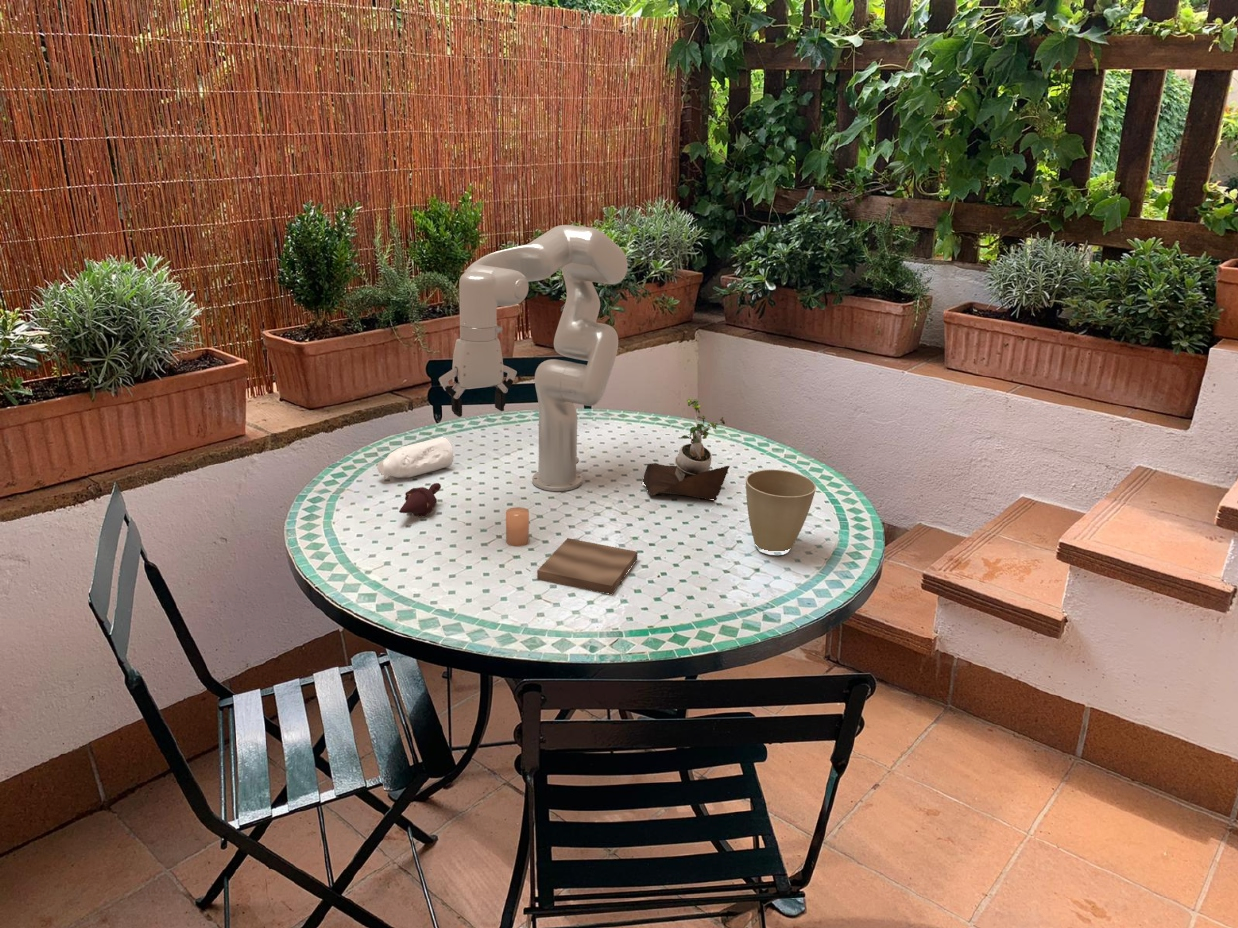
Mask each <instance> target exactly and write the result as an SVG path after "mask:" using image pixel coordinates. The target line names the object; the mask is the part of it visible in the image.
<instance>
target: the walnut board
mask: <svg viewBox="0 0 1238 928" xmlns="http://www.w3.org/2000/svg"><path fill="white" fill-rule="evenodd" d="M636 560H637V561H638V551H637V550H632V549H631V550H630V549H626V548H621V547H617V546H611V545H605V544H601V543H595V542H590V541H584V540H580V539H575V538H570V537H569V538H568V537H566V539H565V540H564V541H563V542H562V543H561V544H560V545H559V546H558V547H557V549H555V551H554V552H553V553H552V554H551V555H550V556H549V557H548V558H547V559H546V561H544V563H542V565H541V566H540V567H539V568H538V569H537V572H536V577H537V578H536V579H537V580H539V581H545V582H550V583H554V584H557V585H563V586H567V587H573V588H578V589H581V590H586V591H591V590H592V592H596V591H598V592H597V593H600V592H604V593H603V594H605V593H609V594H608V595H610V594H612V593H613V594H614V592H615V591H616V590H617V588H618V587H619V586H620V584H621V583H622V581H623V580H624V579H625V577H626V576H627V575H626V573H627V572H628V570H629V569H630V568H631V566H632V565H633V563H634V562H635V561H636ZM637 561H636V562H637ZM636 562H635V563H636ZM633 566H634V565H633ZM633 566H632V567H633ZM631 569H632V568H631ZM631 569H630V570H631ZM630 570H629V571H630ZM628 573H629V572H628ZM628 573H627V574H628ZM625 575H626V576H625ZM624 576H625V577H624ZM623 578H624V579H623ZM622 579H623V580H622ZM621 580H622V581H621ZM620 582H621V583H620ZM619 583H620V584H619ZM617 586H618V587H617ZM615 589H616V590H615ZM614 590H615V591H614ZM613 591H614V592H613ZM613 594H612V595H613Z"/></svg>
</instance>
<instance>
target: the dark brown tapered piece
mask: <svg viewBox="0 0 1238 928" xmlns="http://www.w3.org/2000/svg"><path fill="white" fill-rule="evenodd" d="M441 488H442V485H441V484H440V483H439V482H436V483H433V484H431V485H430V486H429V488H427V487H424V486H421V487H413V488H411V489H409V490H407V491H406V492H405V493H404V495H405V497H404V500H405V502H404V504H403V505H402V506H401V508H400V509H399V513H400V514H412V515H413V516H415V517H420V518H425V517H427V516H428V515H429V514H430V513H431V512H433V511H434V507H435V506H436V505H437V503H438V499H437V498H436V496H435V494H437V493H438V492H439V491H440V489H441Z"/></svg>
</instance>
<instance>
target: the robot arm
mask: <svg viewBox="0 0 1238 928" xmlns="http://www.w3.org/2000/svg"><path fill="white" fill-rule="evenodd" d="M628 268H629V267H628V259H627V256H626V254H625V252H624V251H623V250H622V248H621V247H619V246H618V245H617V244H616V243H615V242H614V241H613V240H612V239H611V237H609V236H608V235H606V234H605V233H604V232H602V230H599V229H597V228H593V227H587V226H582V225H581V226H579V225H573V224H572V225H570V224H563V225H562V224H560V225H557V226H556V225H555V227H552V228H551V229H549V230H548V231H546V232H545V233H543V234H541V235H540V236H538V237H537V238H535V239H534V240H532V241H530V242H529V243H527V244H522V245H518V246H514V247H509V248H506V249H502V250H497V251H495V252H491V253H489V254H486V255H484V256H482V257H480V258H479V259H477V260H475V261H474V262H472V263H471V264H470V265H469V266H468V267H467V269H465V271H464V273H463V274H461V276H460V277H459V281H458V283H459V288H458V290H459V292H458V293H459V338H457V339H456V340H455V344H454V349H453V355H452V367H451V368H452V369H450V370H449V371H448V372H446V373H444V374H442V375H441V376H440V377H439V378H438V382H439V383H440V385H441V387H442V389H443V390H444V391H445V392H446V393H447V394H449V396H450V397H451V398H450V399H451V411H452V413H453V414H454V415H455V416H457V417H459V418H461V417H462V416H463V399H462V398H461V396H462V394H463V393H464V392H465V390H472V389H480V388H488V387H489V388H490V387H495V388H496V389H495V391H494V408H495V409H497V410H498V411H500V412H504V411H505V406H506V394H507V393H508V390H509V389H510V388H511V386H512V385H513V384H514V380H515V378H516V376H517V374H518V372H517V370H515V369H513V368H512V367H509V366H507V365H504V362H503V360H504V358H503V353H502V346H501V341H500V339H499V338H498V334H500V333H502V332H503V326H501V325H498V324H497V316H498V315H497V311H498V310H497V309H498V307H513V306H517V305H519V304H520V303H522V302H523V301H524V300H525V299H526V297H527V296H528V293H529V282H535V281H536V282H537V281H543V280H546V279H548V278H549V277H551V276H552V275H554V274H555V273H557V271H559V270H560V269H561V273H562V277H563V280H564V284H565V289H566V299H565V303H564V307H563V310H562V313H561V316H560V318H559V322H558V325H557V328H556V331H555V334H554V339H553V349H554V350H555V352H556V353H557V354H559V355H561V356H563V357H565V358H569V359H570V358H571V359H575V360H580V361H587V364H582V363H577V362H573V361H568V360H561V359H556V358H555V359H547V360H544V361H543V362H541V363H540V364H538V366H537V368H536V370H535V373H534V386H535V391H536V396H537V401H538V403H537V405H538V471H537V472H535V473H534V474H533V475H532V478H531V479H532V481H531V482H532V484H533V485H534V486H535V487H537V488H539V489H541V490H544V491H551V492H566V491H571V490H574V489H577V488H578V487H580V486H582V484H583V477H582V475H581V474H580V473H578V472H577V465H578V464H579V462H580V459H579V457H578V456H577V455H578V454H577V453H578V451H577V450H578V413H577V410H576V409H577V408H576V406H575V404H577V405H582V406H587V407H588V406H589V407H592V406H595V405H598V403H599V402H600V401H601V400H602V398H603V396H604V394H605V392H606V388H607V386H608V382H609V379H610V376H611V373H612V370H613V367H614V363H615V361H616V357H617V354H618V348H619V336H618V333H617V331H616V329H615V328H614V327H613V326H611V325H609V324H606V323H602V322H597V320H598V316H599V312H600V308H601V301H600V300H601V299H600V297H599V295H598V292H597V289H596V288H595V285H594V283H598V284H606V285H617V284H619V283H620V282H622V281H623V280H624V279H625V277H626V276H627V273H628ZM504 373H507V374H506V378H505V379H504ZM449 381H452V383H453V384H454V385H453V386H452V387H451V386H450V382H449Z"/></svg>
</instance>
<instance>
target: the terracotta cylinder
mask: <svg viewBox="0 0 1238 928" xmlns="http://www.w3.org/2000/svg"><path fill="white" fill-rule="evenodd" d="M529 542H530V511H529V509H528V508H525V507H520V506H519V507H518V506H514V507H510V508H508V509H506V511H505V543H506V544H507V545H509V546H512V547H523V546H526V545H527V544H529Z"/></svg>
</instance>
